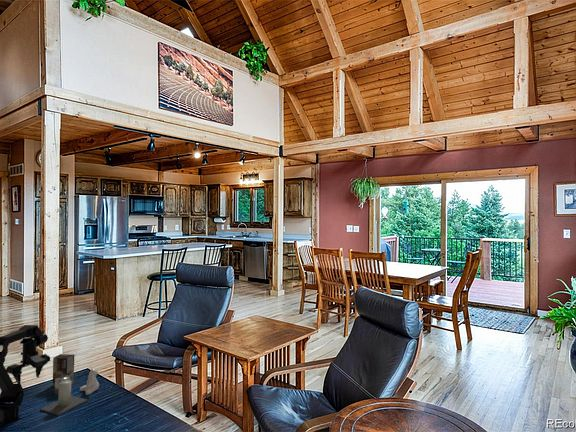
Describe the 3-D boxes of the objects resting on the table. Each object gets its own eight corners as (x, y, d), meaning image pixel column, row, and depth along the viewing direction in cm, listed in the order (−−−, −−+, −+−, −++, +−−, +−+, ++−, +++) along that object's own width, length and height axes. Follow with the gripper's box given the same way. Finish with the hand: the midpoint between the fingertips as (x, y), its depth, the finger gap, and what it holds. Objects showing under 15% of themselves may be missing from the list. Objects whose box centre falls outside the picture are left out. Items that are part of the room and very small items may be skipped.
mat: (58, 415, 177) (58, 414, 177) (40, 410, 182) (40, 408, 182) (87, 401, 192) (87, 399, 192) (69, 396, 197) (69, 395, 197)
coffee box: (74, 381, 216) (75, 354, 216) (66, 386, 209) (67, 358, 210) (59, 381, 216) (60, 353, 217) (51, 385, 210) (52, 357, 211)
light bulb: (63, 407, 183) (63, 385, 184) (55, 405, 185) (56, 383, 186) (73, 402, 188) (73, 381, 189) (65, 400, 190) (66, 379, 191)
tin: (60, 396, 197) (61, 381, 197) (51, 394, 200) (52, 379, 200) (72, 391, 204) (73, 376, 204) (63, 388, 206) (64, 374, 206)
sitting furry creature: (78, 390, 204) (79, 369, 204) (94, 385, 211) (95, 364, 211) (86, 395, 198) (87, 373, 199) (102, 390, 205) (103, 368, 206)
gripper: (20, 358, 174) (19, 391, 174) (57, 346, 192) (57, 376, 192) (5, 355, 178) (4, 387, 178) (43, 343, 196) (42, 372, 196)
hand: (28, 380), depth 186 cm, fingers open, 9 cm apart
